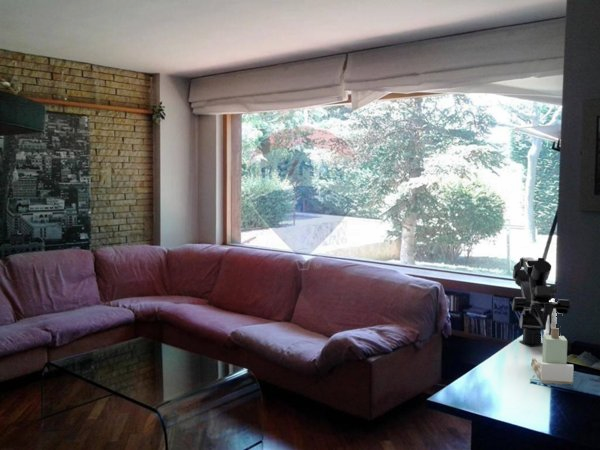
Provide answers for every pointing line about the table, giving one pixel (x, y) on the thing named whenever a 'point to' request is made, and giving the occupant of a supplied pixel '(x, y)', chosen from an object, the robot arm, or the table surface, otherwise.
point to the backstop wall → (557, 372)
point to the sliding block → (554, 348)
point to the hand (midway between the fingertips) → (543, 326)
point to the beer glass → (551, 320)
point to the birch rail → (537, 369)
